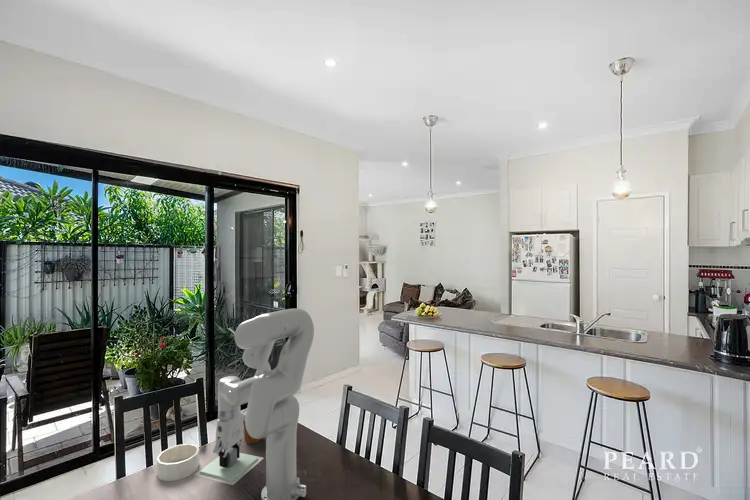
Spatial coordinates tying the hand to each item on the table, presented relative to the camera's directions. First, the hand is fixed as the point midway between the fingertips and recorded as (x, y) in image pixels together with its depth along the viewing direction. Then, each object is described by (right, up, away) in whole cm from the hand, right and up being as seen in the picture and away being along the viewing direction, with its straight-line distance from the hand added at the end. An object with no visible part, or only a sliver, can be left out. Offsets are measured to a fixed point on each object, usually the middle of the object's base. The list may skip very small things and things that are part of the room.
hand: (229, 461), depth 134 cm
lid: (0, -2, 0) cm, 2 cm away
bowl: (-18, -2, -2) cm, 18 cm away
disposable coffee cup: (+2, -2, +19) cm, 19 cm away
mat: (0, -2, 0) cm, 2 cm away
